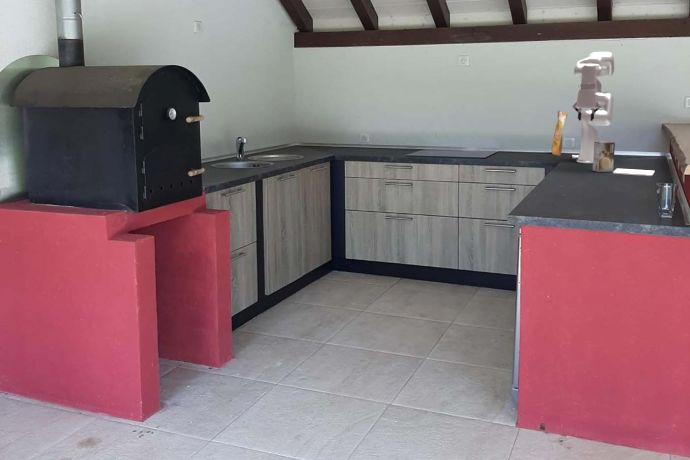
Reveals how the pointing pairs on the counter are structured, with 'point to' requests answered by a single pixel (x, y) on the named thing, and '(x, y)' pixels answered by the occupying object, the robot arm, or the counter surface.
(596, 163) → the coffee box
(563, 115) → the pancake mix bag
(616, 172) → the mat
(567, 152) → the counter surface
